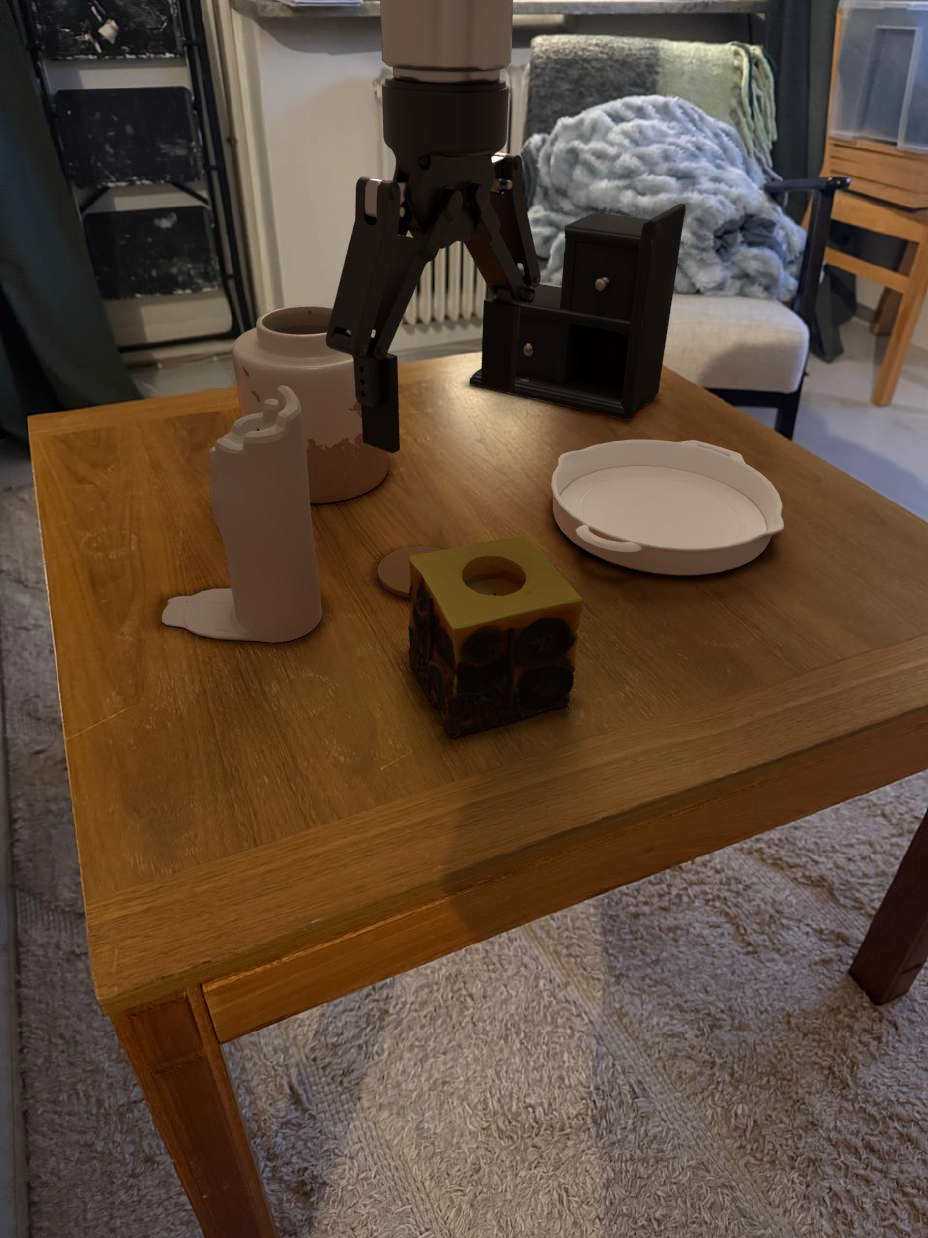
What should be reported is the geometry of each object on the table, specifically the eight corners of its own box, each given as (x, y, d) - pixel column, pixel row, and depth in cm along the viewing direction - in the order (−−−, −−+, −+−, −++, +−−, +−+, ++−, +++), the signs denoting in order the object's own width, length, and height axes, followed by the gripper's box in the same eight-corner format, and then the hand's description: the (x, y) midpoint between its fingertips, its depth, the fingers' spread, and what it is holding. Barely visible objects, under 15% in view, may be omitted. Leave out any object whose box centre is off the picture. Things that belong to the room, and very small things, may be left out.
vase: (224, 465, 96) (200, 314, 86) (339, 430, 104) (329, 287, 94) (295, 520, 87) (277, 358, 77) (416, 477, 95) (413, 324, 85)
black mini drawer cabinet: (467, 385, 116) (472, 194, 102) (504, 360, 124) (513, 180, 110) (630, 424, 107) (659, 221, 93) (659, 395, 115) (691, 203, 101)
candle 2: (175, 586, 77) (128, 370, 65) (329, 595, 77) (309, 378, 65) (147, 636, 72) (90, 408, 60) (312, 645, 71) (288, 417, 59)
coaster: (470, 555, 83) (470, 550, 82) (456, 603, 76) (456, 598, 76) (388, 547, 83) (388, 541, 83) (368, 594, 77) (368, 588, 77)
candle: (449, 741, 63) (451, 633, 57) (404, 658, 70) (401, 554, 64) (574, 707, 66) (587, 601, 60) (518, 631, 73) (525, 530, 67)
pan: (819, 507, 91) (829, 473, 89) (714, 629, 74) (724, 591, 72) (616, 443, 103) (620, 411, 101) (484, 535, 85) (485, 500, 83)
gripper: (514, 58, 60) (500, 356, 73) (237, 82, 44) (281, 459, 57) (608, 65, 57) (576, 378, 69) (343, 95, 41) (365, 494, 53)
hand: (443, 415), depth 63 cm, fingers open, 13 cm apart
